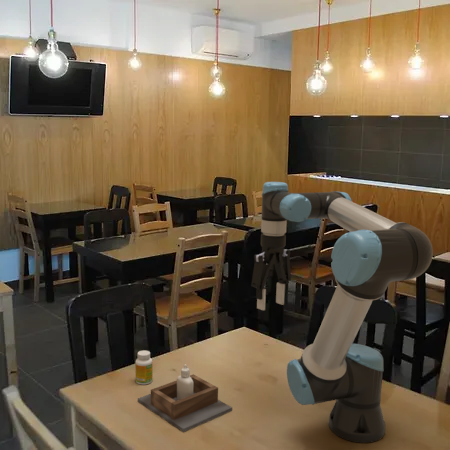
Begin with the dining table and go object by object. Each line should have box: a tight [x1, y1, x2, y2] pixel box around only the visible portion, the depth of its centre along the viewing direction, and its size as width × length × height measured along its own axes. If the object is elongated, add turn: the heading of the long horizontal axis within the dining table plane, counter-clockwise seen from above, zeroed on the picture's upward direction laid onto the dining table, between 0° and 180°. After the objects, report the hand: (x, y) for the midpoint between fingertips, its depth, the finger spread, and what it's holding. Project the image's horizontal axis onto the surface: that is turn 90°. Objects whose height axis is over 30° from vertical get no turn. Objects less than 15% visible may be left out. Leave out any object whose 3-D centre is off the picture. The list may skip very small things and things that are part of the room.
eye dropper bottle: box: [176, 363, 193, 400], centre depth 162 cm, size 4×6×12 cm
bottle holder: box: [137, 373, 233, 433], centre depth 163 cm, size 22×18×6 cm
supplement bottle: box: [135, 349, 153, 385], centre depth 178 cm, size 5×5×10 cm
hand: (270, 306), depth 171 cm, fingers open, 8 cm apart
